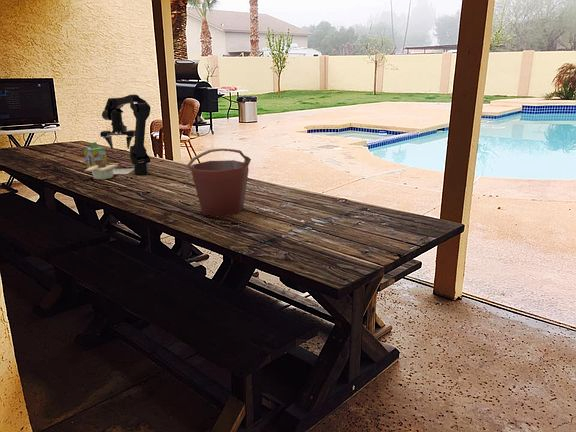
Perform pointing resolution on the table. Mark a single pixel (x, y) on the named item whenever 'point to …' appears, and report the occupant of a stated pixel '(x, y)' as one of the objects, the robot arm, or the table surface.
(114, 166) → the beige square tray
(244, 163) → the bucket
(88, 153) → the chalk box
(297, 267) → the table surface
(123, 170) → the mat
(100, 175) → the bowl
